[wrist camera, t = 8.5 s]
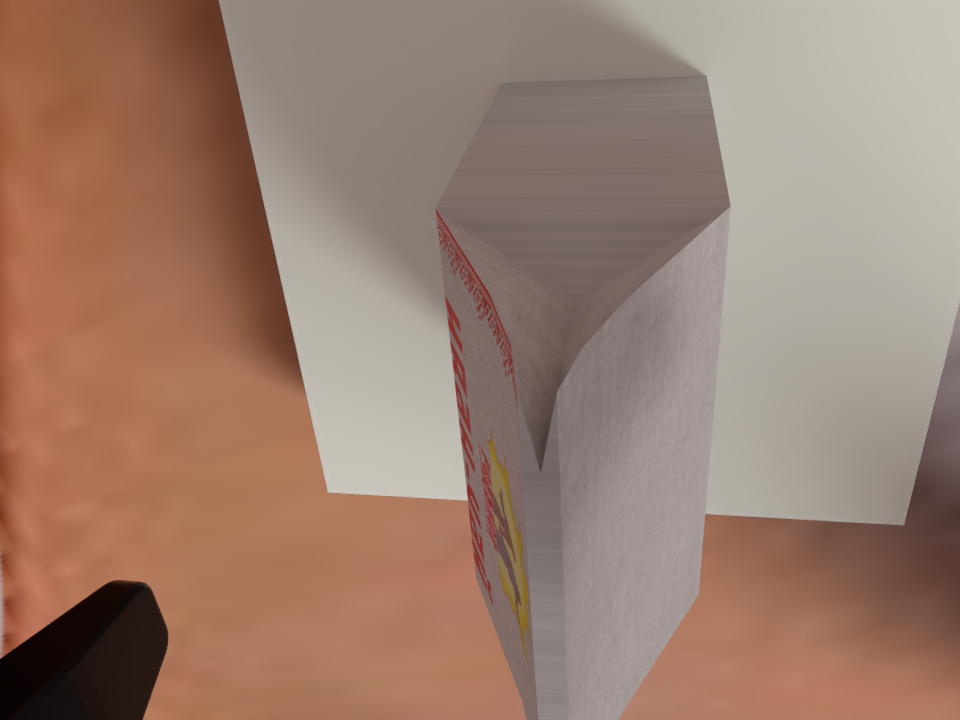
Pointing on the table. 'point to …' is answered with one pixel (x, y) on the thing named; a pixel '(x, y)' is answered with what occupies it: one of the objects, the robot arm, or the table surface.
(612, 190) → the white paper carton
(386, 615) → the table surface
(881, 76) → the plinth
